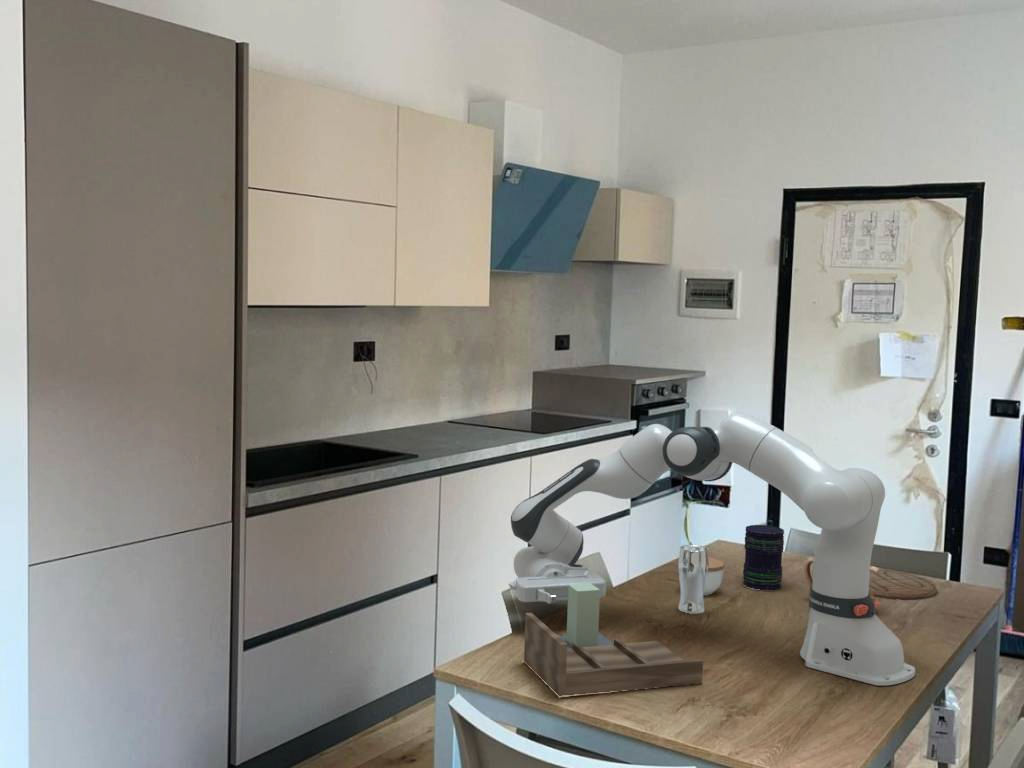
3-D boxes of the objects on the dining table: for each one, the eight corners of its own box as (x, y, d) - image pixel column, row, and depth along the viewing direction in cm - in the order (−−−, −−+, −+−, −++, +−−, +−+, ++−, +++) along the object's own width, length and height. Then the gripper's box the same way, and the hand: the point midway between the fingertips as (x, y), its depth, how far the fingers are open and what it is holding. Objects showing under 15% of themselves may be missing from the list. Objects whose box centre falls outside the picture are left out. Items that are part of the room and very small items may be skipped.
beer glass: (697, 616, 233) (700, 553, 232) (671, 610, 238) (673, 548, 236) (711, 610, 239) (714, 547, 238) (685, 604, 243) (687, 542, 242)
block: (566, 640, 213) (568, 584, 212) (588, 638, 215) (590, 583, 214) (575, 648, 208) (577, 591, 207) (597, 646, 210) (599, 589, 209)
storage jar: (734, 582, 264) (737, 526, 263) (764, 579, 268) (767, 523, 267) (758, 592, 255) (761, 534, 254) (789, 589, 259) (792, 532, 258)
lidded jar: (692, 583, 262) (694, 548, 261) (730, 592, 255) (732, 555, 254) (671, 592, 253) (673, 555, 253) (709, 601, 247) (711, 563, 246)
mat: (542, 638, 215) (542, 636, 215) (598, 633, 219) (598, 631, 219) (563, 657, 204) (563, 655, 204) (622, 652, 208) (622, 650, 208)
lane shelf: (523, 662, 200) (525, 613, 200) (656, 650, 210) (658, 603, 209) (559, 698, 183) (561, 644, 182) (701, 683, 192) (704, 632, 191)
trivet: (872, 603, 250) (873, 596, 250) (816, 576, 274) (816, 569, 274) (957, 598, 257) (958, 591, 256) (895, 572, 281) (896, 565, 280)
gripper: (506, 569, 224) (528, 586, 211) (591, 564, 231) (617, 581, 218) (505, 596, 225) (526, 616, 212) (590, 591, 232) (615, 610, 219)
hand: (573, 598), depth 215 cm, fingers open, 8 cm apart
